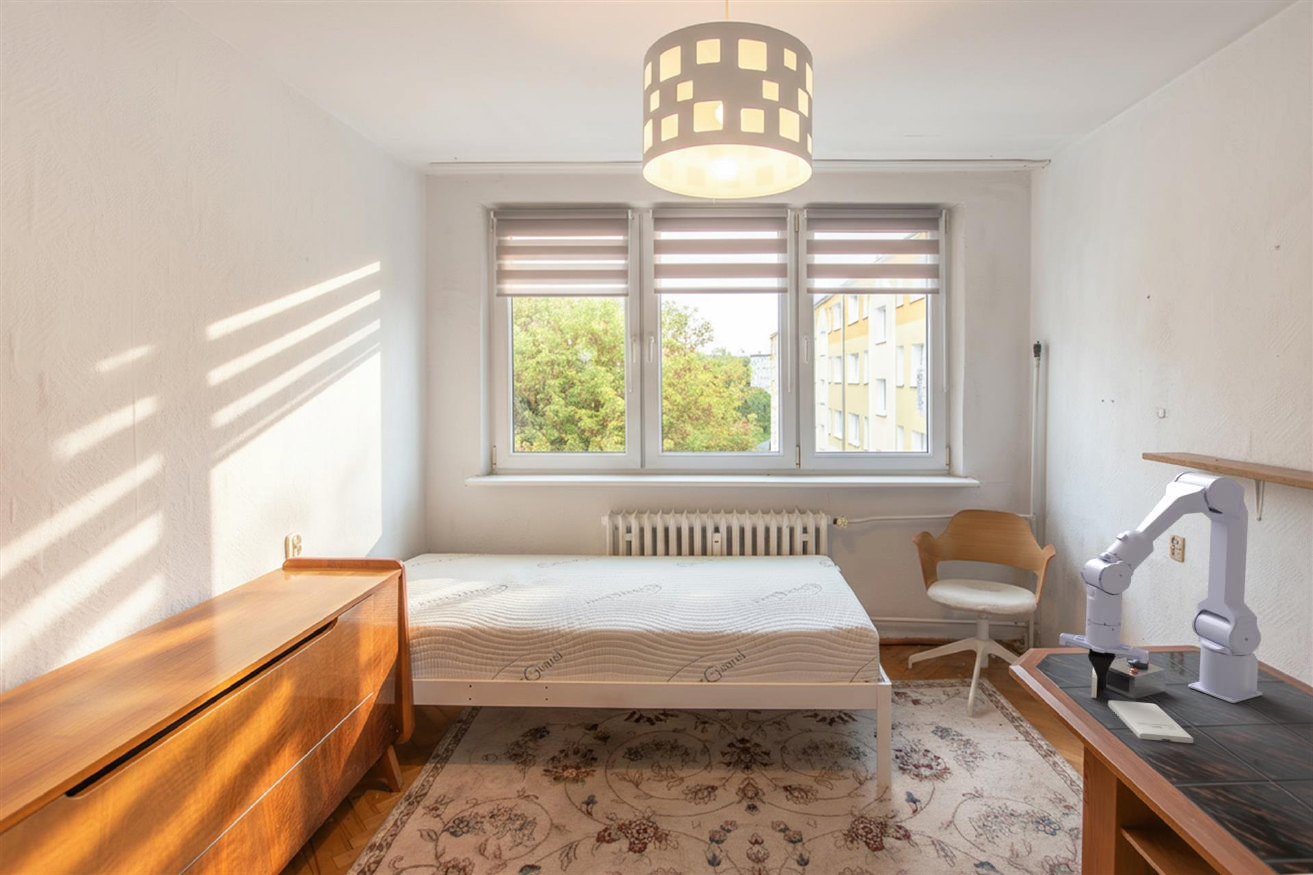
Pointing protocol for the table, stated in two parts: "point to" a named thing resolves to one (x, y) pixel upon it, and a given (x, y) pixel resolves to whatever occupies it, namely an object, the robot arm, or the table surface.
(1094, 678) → the side door
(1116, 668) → the camera body
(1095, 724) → the table surface
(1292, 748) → the table surface
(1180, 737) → the external hard drive
